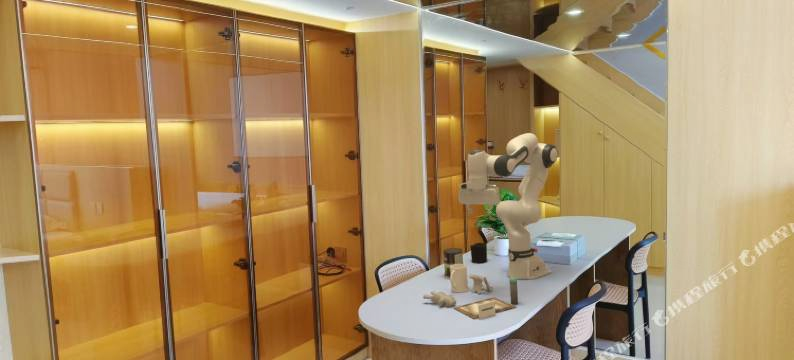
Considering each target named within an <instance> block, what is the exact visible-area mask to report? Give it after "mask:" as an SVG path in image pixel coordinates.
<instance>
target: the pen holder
mask: <svg viewBox="0 0 794 360" xmlns="http://www.w3.org/2000/svg"><path fill="white" fill-rule="evenodd" d="M487 245H488V244H487V243H485V242H476V243H474V244H472V245H471V244H470V247H469V248H470V255H471V262H472V263H473V264H485V263H487V262H488V246H487Z"/></svg>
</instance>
